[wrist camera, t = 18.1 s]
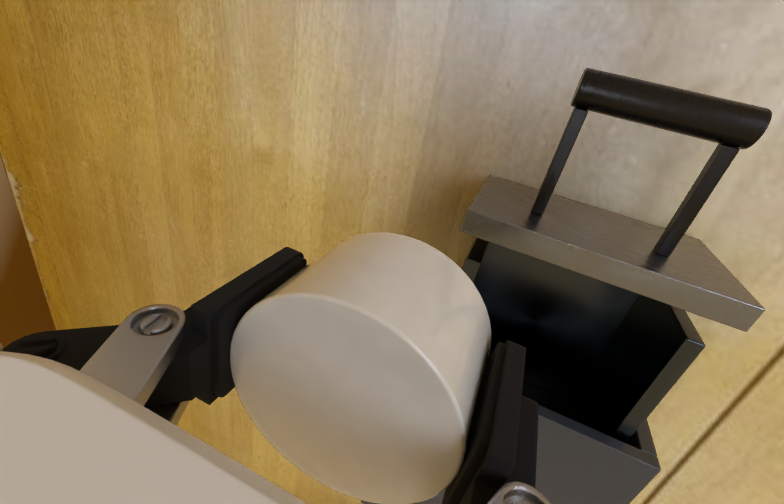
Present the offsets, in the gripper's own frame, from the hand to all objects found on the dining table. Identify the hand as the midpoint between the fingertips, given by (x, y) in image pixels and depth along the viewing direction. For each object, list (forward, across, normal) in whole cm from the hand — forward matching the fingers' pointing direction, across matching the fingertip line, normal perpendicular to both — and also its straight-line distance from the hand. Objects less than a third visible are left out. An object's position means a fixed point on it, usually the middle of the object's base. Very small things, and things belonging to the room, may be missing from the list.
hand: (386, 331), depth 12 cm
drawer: (+16, -7, +2) cm, 17 cm away
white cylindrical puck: (+1, 0, 0) cm, 1 cm away
